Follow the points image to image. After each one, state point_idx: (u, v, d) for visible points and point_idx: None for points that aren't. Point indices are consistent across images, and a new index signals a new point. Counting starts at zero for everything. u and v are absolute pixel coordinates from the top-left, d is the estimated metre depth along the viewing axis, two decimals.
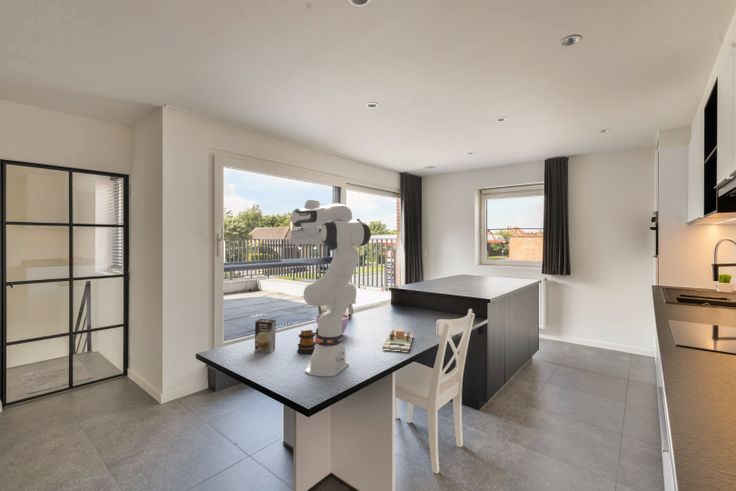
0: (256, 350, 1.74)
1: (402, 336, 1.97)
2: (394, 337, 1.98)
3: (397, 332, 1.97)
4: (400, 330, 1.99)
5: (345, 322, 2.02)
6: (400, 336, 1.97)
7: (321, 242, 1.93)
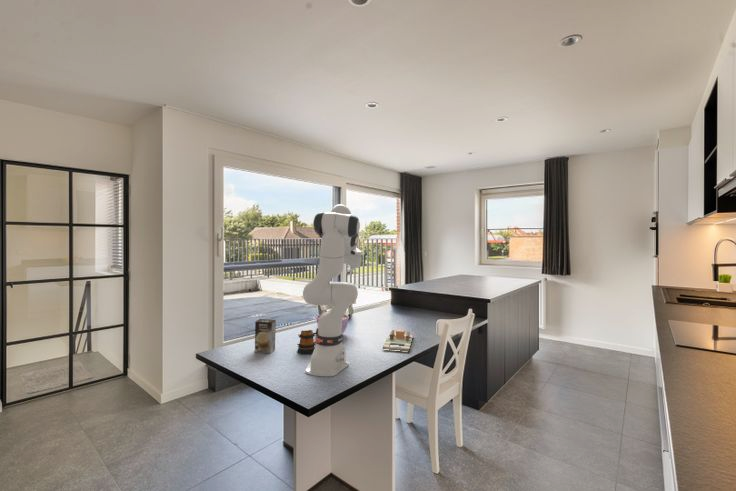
0: (256, 350, 1.74)
1: (402, 336, 1.97)
2: (394, 337, 1.98)
3: (397, 332, 1.97)
4: (400, 330, 1.99)
5: (345, 322, 2.02)
6: (400, 336, 1.97)
7: (353, 265, 2.05)
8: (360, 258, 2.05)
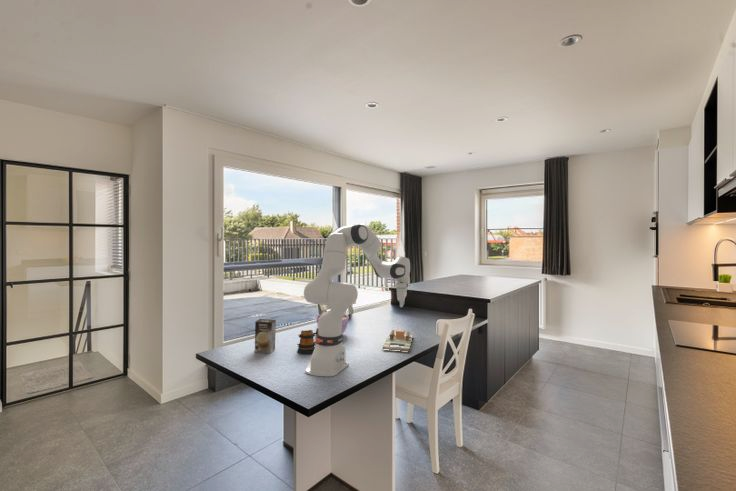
0: (256, 350, 1.74)
1: (402, 336, 1.97)
2: (394, 337, 1.98)
3: (397, 332, 1.97)
4: (400, 330, 1.99)
5: (345, 322, 2.02)
6: (400, 336, 1.97)
7: None
8: (401, 291, 1.96)
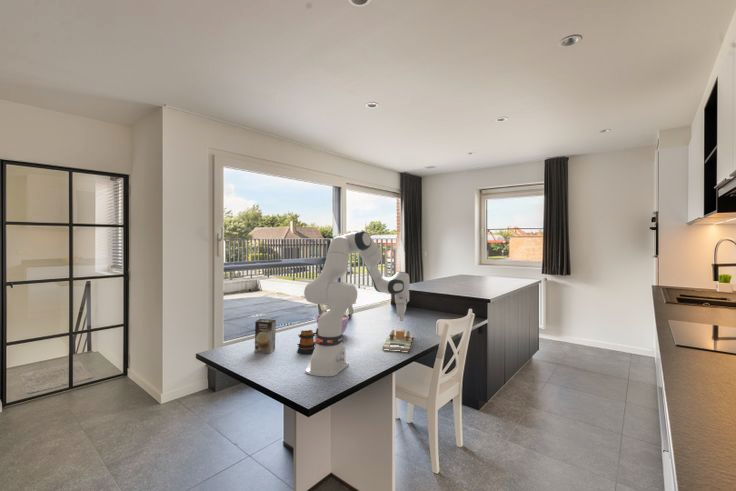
0: (256, 350, 1.74)
1: (402, 336, 1.97)
2: (394, 337, 1.98)
3: (397, 332, 1.97)
4: (400, 330, 1.99)
5: (345, 322, 2.02)
6: (400, 336, 1.97)
7: None
8: (401, 306, 1.97)
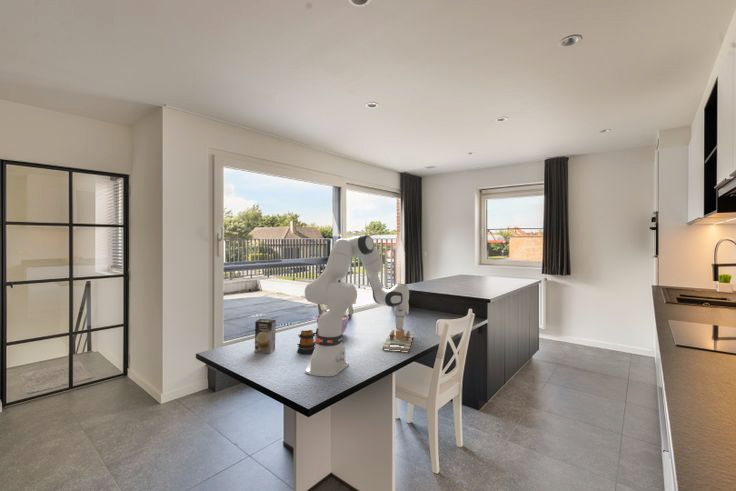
0: (256, 350, 1.74)
1: (402, 336, 1.96)
2: (394, 337, 1.98)
3: (397, 332, 1.97)
4: (400, 330, 1.99)
5: (345, 322, 2.02)
6: (400, 336, 1.97)
7: None
8: (400, 319, 1.94)
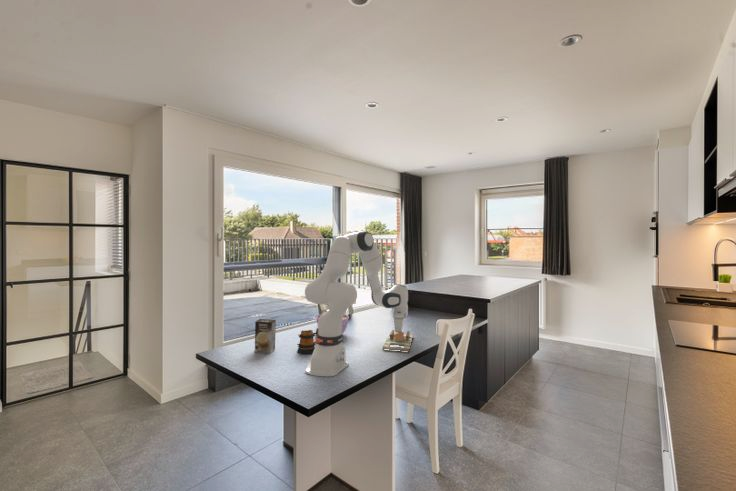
0: (256, 350, 1.74)
1: (401, 339, 1.91)
2: (394, 337, 1.98)
3: (396, 335, 1.92)
4: (399, 333, 1.93)
5: (345, 322, 2.02)
6: (399, 339, 1.91)
7: None
8: (399, 321, 1.88)
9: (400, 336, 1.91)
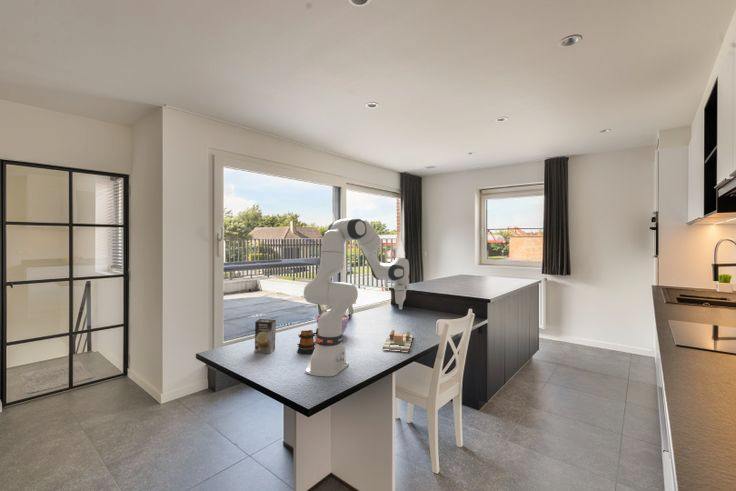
0: (256, 350, 1.74)
1: (400, 341, 1.88)
2: None
3: (395, 336, 1.88)
4: (398, 334, 1.90)
5: (345, 322, 2.02)
6: (398, 341, 1.88)
7: None
8: (400, 293, 1.87)
9: (399, 338, 1.88)
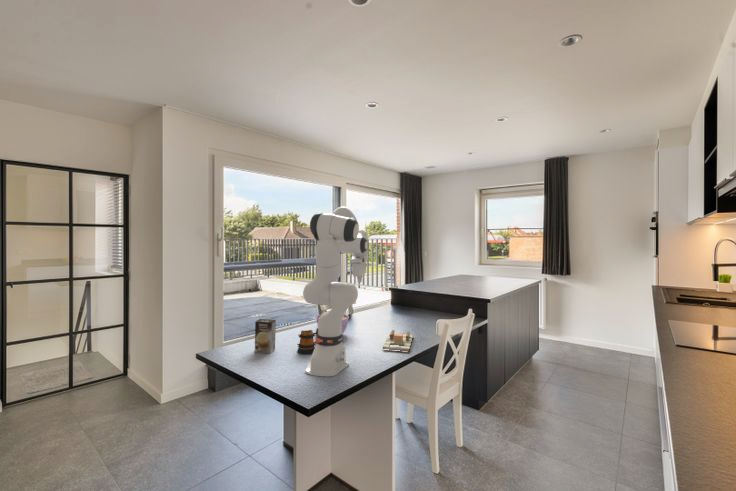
0: (256, 350, 1.74)
1: (400, 341, 1.88)
2: None
3: (395, 336, 1.88)
4: (398, 334, 1.90)
5: (345, 322, 2.02)
6: (398, 341, 1.88)
7: None
8: (357, 265, 1.87)
9: (399, 338, 1.88)
